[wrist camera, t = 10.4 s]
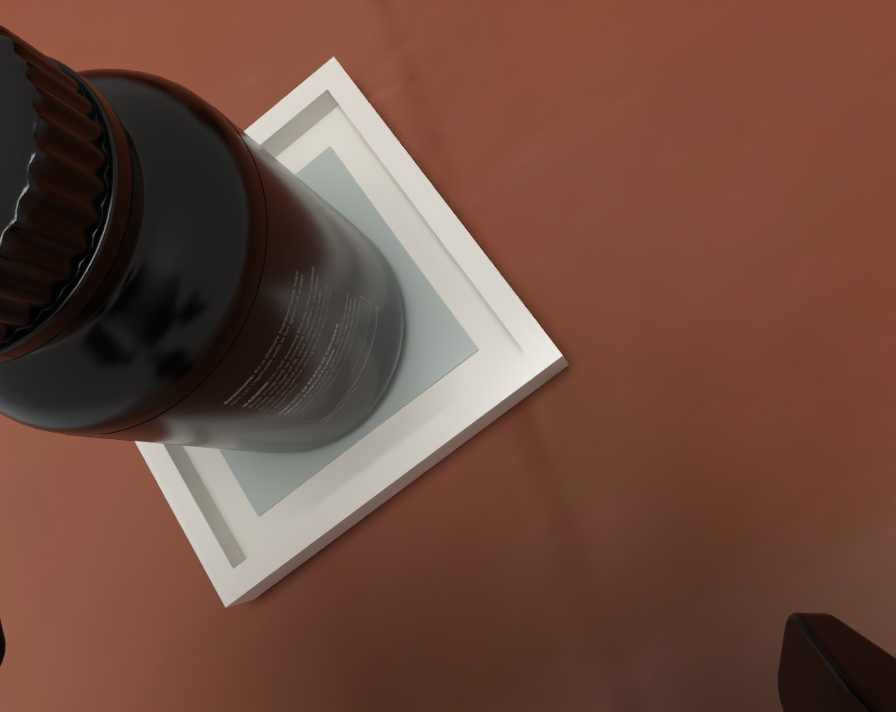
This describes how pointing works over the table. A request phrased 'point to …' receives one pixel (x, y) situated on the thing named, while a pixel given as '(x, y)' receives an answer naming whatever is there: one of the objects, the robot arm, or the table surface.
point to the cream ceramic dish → (415, 377)
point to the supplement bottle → (174, 272)
